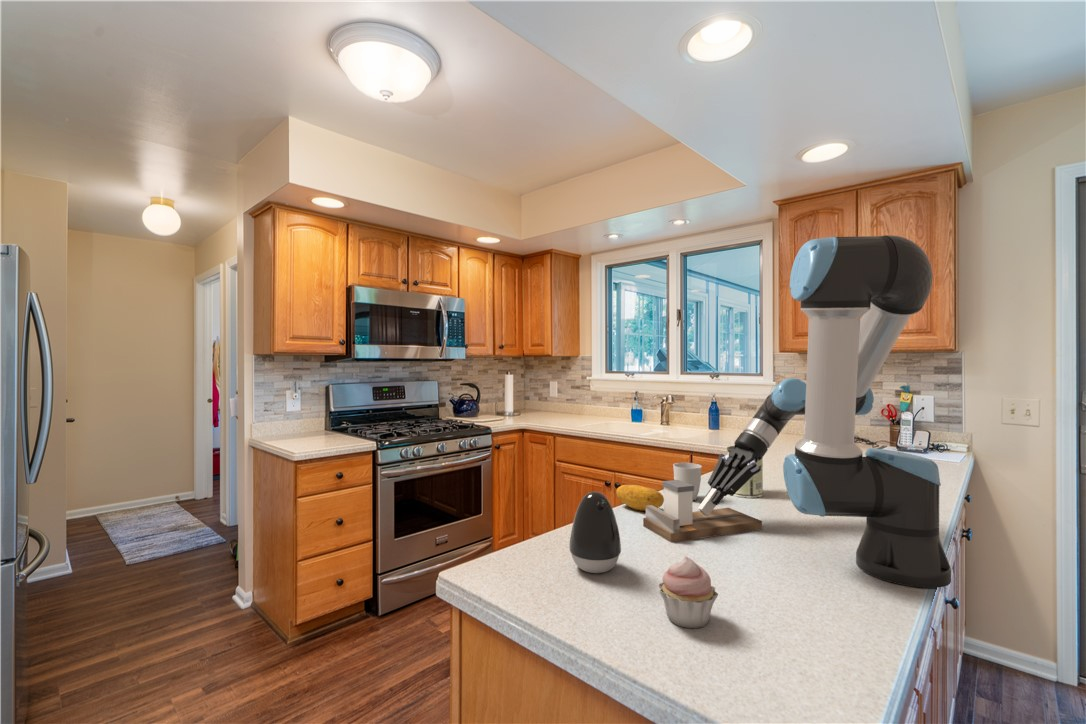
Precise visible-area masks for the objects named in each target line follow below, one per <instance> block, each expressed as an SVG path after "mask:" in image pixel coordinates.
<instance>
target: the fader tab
mask: <svg viewBox="0 0 1086 724" xmlns="http://www.w3.org/2000/svg"><path fill="white" fill-rule="evenodd" d="M661 487H662V488H663V498H664V502H663V511H664V512H666V513H668V514H670V515H672V516H674V517H676V518H678V519H679V526H683V525H691V524H692V512H693V501H692V491H694V486H693V485H691V484H688V483H685V482H683V481H680V480H673V479H671V480H670V479H669V480H662V485H661Z"/></svg>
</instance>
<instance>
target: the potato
mask: <svg viewBox="0 0 1086 724" xmlns="http://www.w3.org/2000/svg"><path fill="white" fill-rule="evenodd" d="M615 492H616V496H617V497H618V499H619V501H620V502H621V503H623V504H624V505H626V506H628V507H630V508H631V509H633V510H634V511H635V510H636V511H640V512H641V511H642V512H646V506H647V505H652V506H654V507H656V508H658V509H660V508H661V507H662V506H663V505H664V494H662V493H661V492H660V491H658V490H656V489H654V488H651V487H648V486H647V487H646V486H642V485H640V484H639V485H638V484H637V485H636V484H623V485H620V486H618V487H617V489H616V491H615Z"/></svg>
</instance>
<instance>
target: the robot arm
mask: <svg viewBox="0 0 1086 724" xmlns="http://www.w3.org/2000/svg"><path fill="white" fill-rule="evenodd" d="M929 259H930V258H929V257H928V256H927V254H926V253H925V251H924V250H923V248H921V247H920V245H918V244H917V243H916V242H914V241H913V240H910V239H908V238H906V237H903V236H898V235H893V234H891V235H889V234H888V235H887V234H886V235H881V236H879V235H878V236H877V235H875V236H874V235H873V236H870V235H869V236H867V235H866V236H829V237H821V238H814V239H810V240H808V241H807V242H805V243H804V244H803V245H802V246H801V247H800V249H798V252H797V254H796V255H795V258H794V261H793V263H792V266H791V267H792V268H791V271H790V279H789V289H790V296H791V297H792V298H793V299H794V300H795V301H798V302H800V311H801V312H803V314H805V316H807V318H808V330H807V332H808V333H807V334H808V335H807V355H806V356H807V357H806V358H807V359H806V378H805V379H806V380H805V381H806V382H805V381H803V380H801V379H799V378H795V377H789V378H785V379H784V380H781V382H780V383H778V384H777V385H775V387H774V388H773V390H772V391H771V392H770V393H769V394H768V396H766V398H765V399H764V402H763V403H762V404H761V406H760V407H759V408H758V410H757V411H756V412H755V414H754V415H753V417H752V418H751V419H750V420H749V422H748V423H747V424H746V425H745V427H744V428H742V429H743V430H742V432H741V433H740V434H739V435H738V436H737V437H736V439H735V440H734V446H735V448H734V449H733V450H732V451H730V453H729V454H728V453H727V454H726V455H724V454H723V453H721V454H718V459H717V460H718V461H717V463H716V465H715V466H714V468H713V471H712V473H711V475H710V476H709V479H708V481H707V484H708V485H709V487H710V489H709V490H708V491H707V493H706V495H705V496H704V499H703V500H702V502H701V503H700V504H699V505H698V507H697V509H698V511H701V512H702V513H703V514H704V515H705V516H709V515H710V513H711V512H712V510H713V509H716V508H715V507H716V506H718V505H719V504H720V503H721V501H722V500H723V498H724V497H726V496H730V497H732V496H733V495H734V494H735V493H736V492H737V491H738V490H739V489H740V488H741V487H742V486H743V485H744V484H745V483H746V482H747V481H748V480H749V479H750V478H751V477H752V476H753V475H755V474H756V473H758V472H760V470H761V469H760V468H759V467H758V465H757V464H756V463H757V461H759V460H761V459H762V460H763V458H764V456H765V455H766V453H767V452H768V449H769V448H770V447H771V446H772V445H773V443H774V442H775V440H776V439H777V437H778V436H779V434H780V433H781V432H782V430H783V429H784V428H785V427H786V426H787V424H788V423H789V422H790V421H791V420H792V419H793V418H794V417H795V416H797V415H798V416H803V415H804V426H803V427H804V430H803V437H802V439H800V440H798V441H797V442H796V443H795V446H794V454H793V453H790V454H788V455H786V456H785V458H784V461H783V465H782V469H783V470H782V471H783V479H784V484H785V487H786V491H787V494H788V497H789V500H790V502H791V503H792V505H793V506H794V508H795V509H796V511H798V512H799V513H801V514H804V515H810V516H811V515H812V516H819V517H823V518H824V517H849V518H850V517H853V518H854V517H855V518H866V521H865V522H866V523H865V525H866V526H865V529H864V531H863V534H862V537H861V539H860V541H859V544H858V547H857V549H856V552H855V563H856V566H857V567H858V568H859V569H860V570H862V571H863V572H865V573H866V574H868V575H870V576H872V577H875V578H878V579H880V580H883V581H887V582H891V583H894V584H898V585H902V586H903V585H904V586H907V587H914V588H925V589H938V588H943V587H946V586H947V587H948V586H949V585H950V584H951V583H952V568H951V565H950V563H949V560H948V558H947V554H946V552H945V549H944V546H943V544H942V541H941V537H940V487H941V484H942V483H941V479H940V471H939V466H938V464H937V463H936V462H935V461H934V460H932V459H929V458H927V457H924V456H921V455H916V454H912V453H907V452H901V451H896V450H890V449H884V448H883V449H882V448H867V449H866V452H865V453H864V455H865V456H863V452H864V451H863V449H861V448H860V447H859V446H858V445H857V444H856V443H855V427H856V416H863V415H864V416H865V415H867V414H869V413H871V411H872V410H873V404H874V402H875V401H874V400H875V399H874V393H873V390H872V388H871V386H872V384H873V383H874V380H875V379H876V378H877V375H878V374H879V372H880V370H881V368H882V367H883V365H884V363H885V361H886V360H887V358H888V357H889V355H890V353H891V351H892V349H893V347H894V346H895V344H896V342H897V340H898V339H899V337H900V335H901V334H902V331H903V330H904V328H905V326H906V325H907V323H908V321H909V320H910V318H911V316H913V315H915V314H918V313H919V312H920V311H922V309H923V308H924V306H925V304H926V302H927V300H928V298H929V296H930V293H931V291H932V286H933V278H934V277H933V269H932V264H931V261H930V260H929ZM731 489H732V490H731ZM733 497H734V496H733Z"/></svg>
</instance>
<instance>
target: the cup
mask: <svg viewBox="0 0 1086 724" xmlns="http://www.w3.org/2000/svg"><path fill="white" fill-rule="evenodd" d="M672 466H673V467H672V468H673V479H674V480H680V481H683V482H685V483H688V484H691V485H693V486H694V491H692V500H695V501H696V500H697V498H698V495H699V492H700V487H701V482H702V481H701V480H702V469H703V467H702V465H701V464H698V463H694V462H676V463H673V464H672Z"/></svg>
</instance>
